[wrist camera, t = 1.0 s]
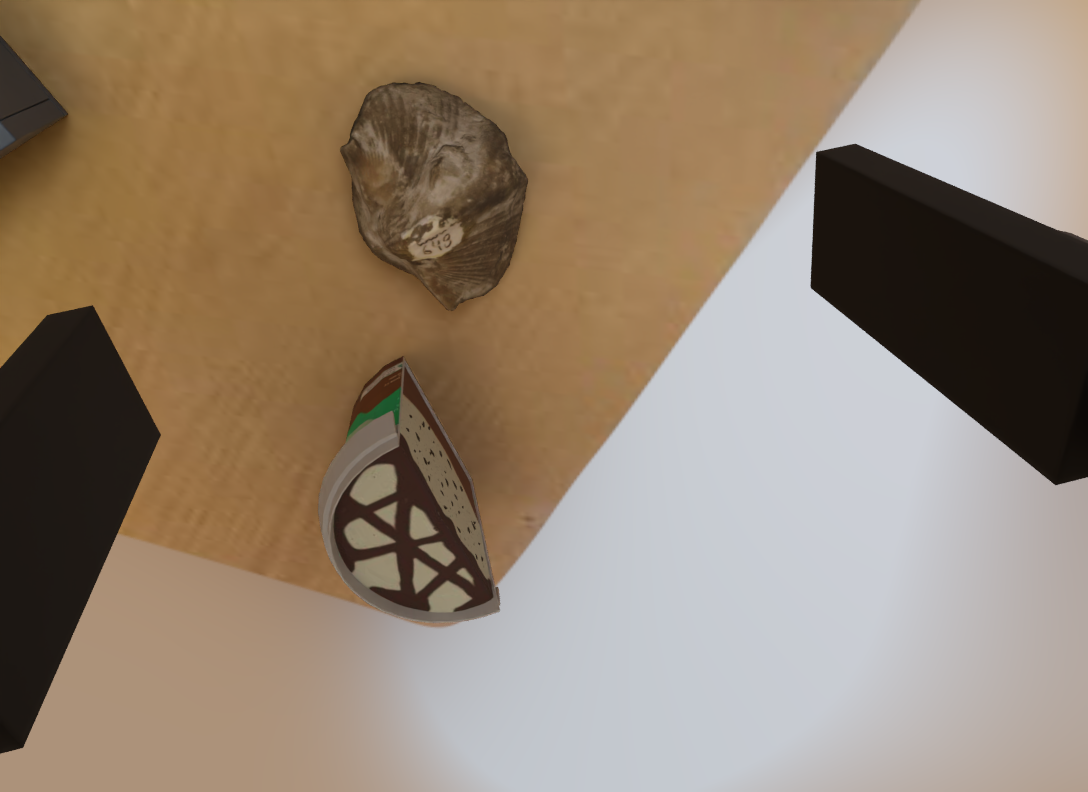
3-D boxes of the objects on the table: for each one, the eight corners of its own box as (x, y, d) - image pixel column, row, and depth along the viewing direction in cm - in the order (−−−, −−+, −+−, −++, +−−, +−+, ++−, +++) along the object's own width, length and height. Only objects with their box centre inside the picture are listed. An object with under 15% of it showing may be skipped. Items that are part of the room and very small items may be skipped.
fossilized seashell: (295, 112, 32) (371, 306, 38) (383, 143, 28) (451, 354, 34) (434, 48, 35) (482, 237, 42) (531, 68, 31) (566, 273, 38)
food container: (285, 379, 40) (259, 492, 32) (390, 333, 40) (392, 435, 32) (391, 535, 47) (392, 664, 38) (482, 496, 47) (504, 617, 38)
